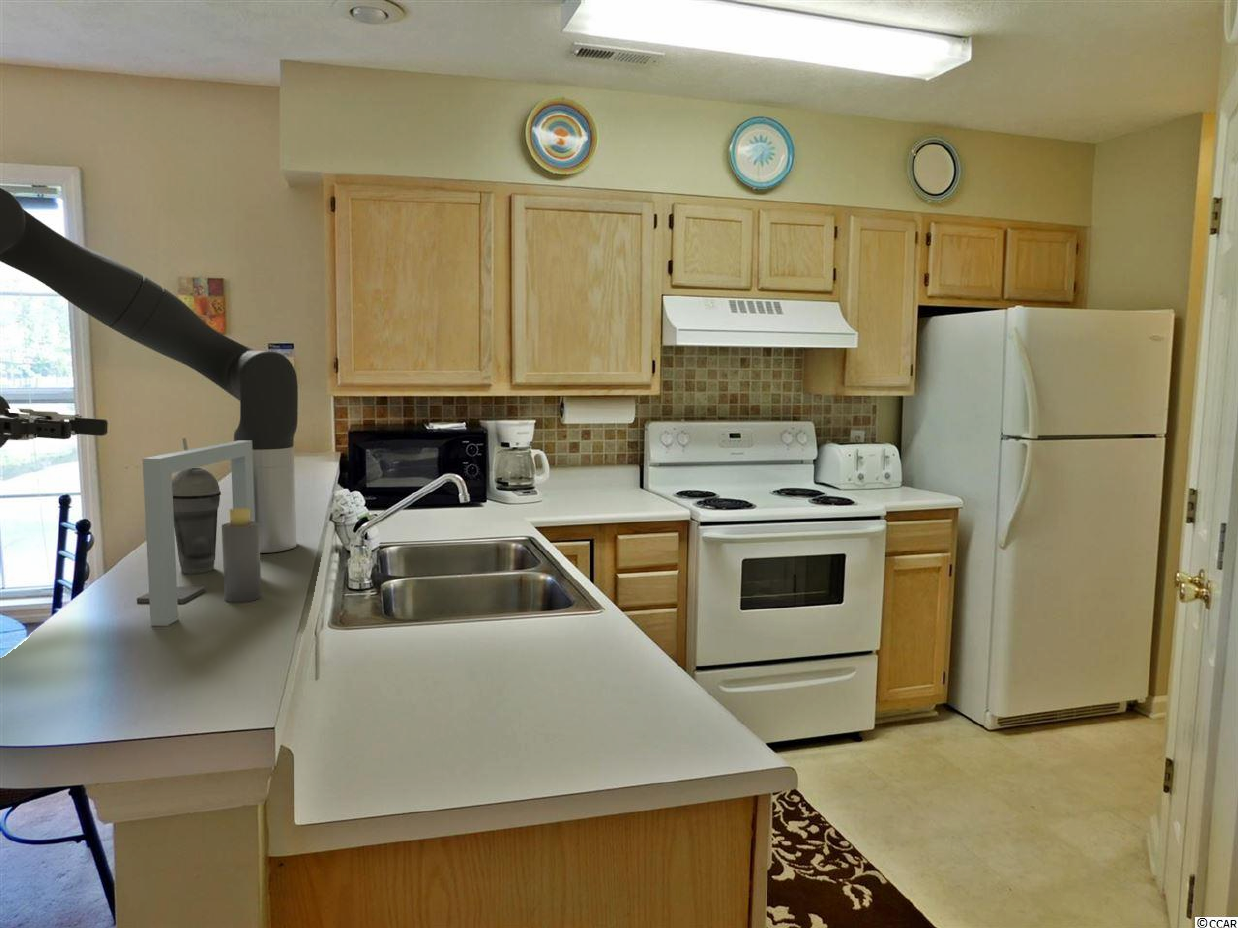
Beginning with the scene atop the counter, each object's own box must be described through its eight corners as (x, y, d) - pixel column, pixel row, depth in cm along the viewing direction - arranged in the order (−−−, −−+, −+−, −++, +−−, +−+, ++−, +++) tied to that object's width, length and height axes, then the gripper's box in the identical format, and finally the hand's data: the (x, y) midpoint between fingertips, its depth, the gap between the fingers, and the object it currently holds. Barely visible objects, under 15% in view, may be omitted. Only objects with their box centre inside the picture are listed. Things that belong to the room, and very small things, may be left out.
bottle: (233, 593, 116) (230, 506, 115) (266, 593, 116) (263, 506, 115) (218, 602, 111) (214, 512, 110) (252, 602, 111) (249, 512, 110)
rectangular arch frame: (243, 574, 126) (238, 440, 124) (256, 574, 126) (252, 440, 124) (150, 625, 101) (142, 458, 99) (167, 625, 101) (159, 458, 99)
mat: (161, 590, 117) (161, 586, 117) (205, 591, 117) (205, 587, 117) (137, 602, 111) (136, 598, 111) (183, 603, 111) (182, 598, 111)
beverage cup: (209, 576, 125) (203, 440, 123) (160, 575, 125) (153, 439, 123) (232, 565, 132) (228, 436, 130) (186, 564, 132) (180, 436, 130)
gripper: (-84, 390, 102) (57, 400, 103) (-6, 390, 116) (117, 399, 118) (-85, 452, 103) (56, 462, 104) (-7, 445, 117) (116, 453, 118)
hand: (88, 429), depth 111 cm, fingers open, 8 cm apart
